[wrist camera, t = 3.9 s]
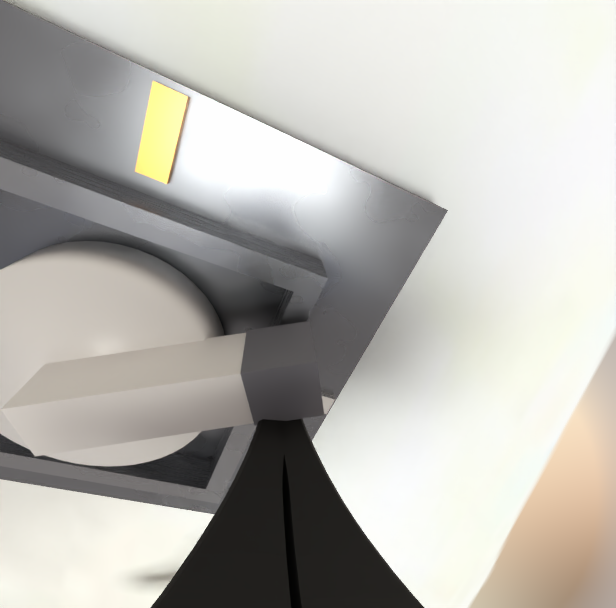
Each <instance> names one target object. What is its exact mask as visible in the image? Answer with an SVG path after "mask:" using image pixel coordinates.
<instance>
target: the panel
mask: <svg viewBox="0 0 616 608" xmlns="http://www.w3.org/2000/svg"><path fill="white" fill-rule="evenodd" d="M447 211H448V210H446V209H444V208H442V207H440V206H438V205H436V204H433V203H431V202H429V201H427V200H425V199H423V198H421V197H419V196H417V195H414V194H412V193H410V192H408V191H406V190H404V189H402V188H400V187H397V186H395V185H393V184H391V183H389V182H387V181H385V180H383V179H381V178H378V177H376V176H374V175H372V174H370V173H368V172H366V171H364V170H361V169H359V168H357V167H355V166H353V165H351V164H349V163H347V162H345V161H342V160H340V159H338V158H336V157H334V156H332V155H330V154H328V153H325V152H323V151H321V150H319V149H317V148H315V147H313V146H311V145H308V144H306V143H304V142H302V141H300V140H298V139H296V138H294V137H292V136H289V135H287V134H285V133H283V132H281V131H279V130H277V129H275V128H272V127H270V126H268V125H266V124H264V123H262V122H260V121H258V120H256V119H253V118H251V117H249V116H247V115H245V114H243V113H241V112H239V111H236V110H234V109H232V108H230V107H228V106H226V105H224V104H222V103H219V102H217V101H215V100H213V99H211V98H209V97H207V96H205V95H203V94H200V93H198V92H196V91H194V90H192V89H190V88H188V87H186V86H183V85H181V84H179V83H177V82H175V81H173V80H171V79H169V78H167V77H164V76H162V75H160V74H158V73H156V72H154V71H152V70H150V69H147V68H145V67H143V66H141V65H139V64H137V63H135V62H133V61H130V60H128V59H126V58H124V57H122V56H120V55H118V54H116V53H114V52H111V51H109V50H107V49H105V48H103V47H101V46H99V45H97V44H94V43H92V42H90V41H88V40H86V39H84V38H82V37H80V36H78V35H75V34H73V33H71V32H69V31H67V30H65V29H63V28H61V27H58V26H56V25H54V24H52V23H50V22H48V21H46V20H44V19H41V18H39V17H37V16H35V15H33V14H31V13H29V12H27V11H25V10H22V9H20V8H18V7H16V6H14V5H12V4H10V3H8V2H5V1H3V0H0V270H1V269H3V268H5V267H7V266H8V265H10V264H12V263H14V262H16V261H18V260H20V259H22V258H24V257H26V256H28V255H30V254H32V253H34V252H36V251H38V250H40V249H43V248H46V247H49V246H51V245H56V244H61V243H66V242H75V241H100V242H108V243H114V244H120V245H123V246H127V247H131V248H134V249H138V250H140V251H143V252H145V253H148V254H150V255H153V256H155V257H157V258H158V259H160V260H162V261H164V262H166V263H168V264H169V265H171V266H172V267H174V268H175V269H177V270H178V271H180V272H181V273H183V274H184V275H185V276H186V277H187V278H188V279H190V280H191V281H192V282H193V283H194V284H195V285H196V286H197V287H198V288H199V289H200V290H201V291H202V293H203V294H204V295H205V296H206V297H207V299H208V300H209V302H210V303H211V304H212V306H213V308H214V309H215V311H216V313H217V315H218V317H219V319H220V322H221V325H222V327H223V330H224V335H225V336H226V335H233V334H240V333H246V331H247V330H252V329H259V328H266V327H272V326H279V325H286V324H293V323H300V322H306V321H310V323H311V329H312V335H313V341H314V346H315V352H316V358H317V364H318V371H319V379H320V386H321V394H322V401H323V409H324V415H322V416H316V417H309V418H302V419H303V422H304V424H305V427H306V429H307V432H308V434H309V436H310V439H311V441H312V439H313V438H314V436H315V434H316V433H317V431H318V429H319V428H320V426H321V424H322V422H323V421H324V419H325V417H326V416H327V414H328V412H329V411H330V409H331V407H332V406H333V404H334V402H335V400H336V399H337V397H338V395H339V394H340V392H341V390H342V389H343V387H344V385H345V384H346V382H347V380H348V378H349V377H350V375H351V373H352V372H353V370H354V368H355V367H356V365H357V363H358V362H359V360H360V358H361V356H362V355H363V353H364V351H365V350H366V348H367V346H368V345H369V343H370V341H371V340H372V338H373V336H374V334H375V333H376V331H377V329H378V328H379V326H380V324H381V323H382V321H383V319H384V318H385V316H386V314H387V312H388V311H389V309H390V307H391V306H392V304H393V302H394V301H395V299H396V297H397V296H398V294H399V292H400V290H401V289H402V287H403V285H404V284H405V282H406V280H407V279H408V277H409V275H410V274H411V272H412V270H413V268H414V267H415V265H416V263H417V262H418V260H419V258H420V257H421V255H422V253H423V251H424V250H425V248H426V246H427V245H428V243H429V241H430V240H431V238H432V236H433V235H434V233H435V231H436V229H437V228H438V226H439V224H440V223H441V221H442V219H443V218H444V216H445V214H446V213H447ZM256 427H257V425H256V426H254V423H252V424H246V425H239V426H232V427H226V428H219V429H213V430H206V431H201V432H200V433H199V434H198V435H197V436H196V437H195V438H194V439H193V440H192V441H191V442H189V443H188V444H187V445H185V446H184V447H182V448H181V449H179V450H177V451H175V452H174V453H171V454H169V455H167V456H164V457H162V458H159V459H156V460H153V461H149V462H145V463H140V464H135V465H126V466H91V465H83V464H76V463H71V462H67V461H62V460H58V459H55V458H52V457H48V456H45V455H41V456H34V454H33V453H32V452H31V450H30V449H27V448H25V447H23V446H21V445H19V444H17V443H15V442H13V441H11V440H10V439H8V438H6V437H5V436H3V435H1V434H0V479H4V480H10V481H16V482H22V483H28V484H34V485H40V486H46V487H52V488H58V489H64V490H71V491H77V492H83V493H89V494H95V495H101V496H107V497H113V498H119V499H125V500H131V501H137V502H143V503H150V504H156V505H162V506H168V507H174V508H180V509H186V510H192V511H198V512H204V513H210V514H215V513H216V511H217V510H218V508H219V506H220V504H221V503H222V501H223V499H224V497H225V496H226V494H227V492H228V490H229V488H230V486H231V484H232V482H233V481H234V479H235V476H236V474H237V472H238V470H239V468H240V466H241V464H242V462H243V460H244V458H245V455H246V453H247V451H248V448H249V446H250V443H251V441H252V438H253V436H254V433H255V430H256Z"/></svg>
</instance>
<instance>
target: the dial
mask: <svg viewBox="0 0 616 608" xmlns="http://www.w3.org/2000/svg"><path fill="white" fill-rule="evenodd" d="M322 415H324V409H323V401H322V394H321V386H320V379H319V371H318V364H317V358H316V352H315V346H314V341H313V335H312V329H311V323H310V321H306V322H300V323H293V324H286V325H279V326H272V327H266V328H259V329H252V330H247V331H246V333H240V334H233V335H226V336H225V335H224V330H223V327H222V325H221V322H220V319H219V317H218V315H217V313H216V311H215V309H214V308H213V306H212V304H211V303H210V302H209V300H208V299H207V297H206V296H205V295H204V294H203V293H202V291H201V290H200V289H199V288H198V287H197V286H196V285H195V284H194V283H193V282H192V281H191V280H190V279H188V278H187V277H186V276H185V275H184V274H183V273H181V272H180V271H178V270H177V269H175V268H174V267H172V266H171V265H169V264H168V263H166V262H164V261H162V260H160V259H158V258H157V257H155V256H153V255H150V254H148V253H145V252H143V251H140V250H138V249H134V248H131V247H127V246H123V245H120V244H114V243H108V242H100V241H75V242H66V243H61V244H56V245H51V246H49V247H46V248H43V249H40V250H38V251H36V252H34V253H32V254H30V255H28V256H26V257H24V258H22V259H20V260H18V261H16V262H14V263H12V264H10V265H8V266H7V267H5V268H3V269H1V270H0V434H1V435H3V436H5V437H6V438H8V439H10V440H11V441H13V442H15V443H17V444H19V445H21V446H23V447H25V448H27V449H30V450H31V452H32V453H33V454H34V456H41V455H45V456H48V457H52V458H55V459H58V460H62V461H67V462H71V463H76V464H83V465H91V466H126V465H135V464H140V463H145V462H149V461H153V460H156V459H159V458H162V457H164V456H167V455H169V454H171V453H174V452H175V451H177V450H179V449H181V448H182V447H184V446H185V445H187V444H188V443H189V442H191V441H192V440H193V439H194V438H195V437H196V436H197V435H198V434H199V433H200V432H201V431H206V430H213V429H219V428H226V427H232V426H239V425H246V424H252V423H254V426H256V425H257V424H258V421H260V420H262V419H267V420H281V421H289V420H296V419H302V418H309V417H316V416H322Z"/></svg>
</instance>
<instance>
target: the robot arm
mask: <svg viewBox="0 0 616 608" xmlns="http://www.w3.org/2000/svg"><path fill="white" fill-rule="evenodd" d="M151 608H424V607H423V606H422V605H421V603H420V602H419V601H418V600H417V599H416V598H415V597H414V596H413V594H412V593H411V592H410V591H409V590H408V588H407V587H406V586H405V585H404V584H403V583H402V581H401V580H400V579H399V578H398V577H397V575H396V574H395V573H394V572H393V570H392V569H391V568H390V567H389V565H388V564H387V563H386V561H385V560H384V559H383V557H382V556H381V555H380V554H379V552H378V551H377V550H376V548H375V547H374V546H373V544H372V543H371V542H370V540H369V539H368V538H367V536H366V535H365V534H364V532H363V531H362V529H361V528H360V526H359V525H358V523H357V522H356V520H355V519H354V517H353V516H352V514H351V513H350V511H349V510H348V508H347V507H346V505H345V503H344V502H343V500H342V499H341V497H340V495H339V493H338V492H337V490H336V488H335V487H334V485H333V483H332V481H331V479H330V478H329V476H328V474H327V472H326V470H325V468H324V466H323V464H322V462H321V460H320V458H319V456H318V454H317V452H316V450H315V448H314V446H313V443H312V441H311V439H310V436H309V434H308V432H307V429H306V427H305V424H304V422H303V419H296V420H289V421H281V420H267V419H262V420H260V421H258V424H257V427H256V430H255V433H254V436H253V438H252V441H251V443H250V446H249V448H248V451H247V453H246V455H245V458H244V460H243V462H242V464H241V466H240V468H239V470H238V472H237V474H236V476H235V479H234V481H233V482H232V484H231V486H230V488H229V490H228V492H227V494H226V496H225V497H224V499H223V501H222V503H221V504H220V506H219V508H218V510H217V511H216V513H215V515H214V516H213V518H212V520H211V521H210V523H209V524H208V526H207V528H206V529H205V531H204V533H203V534H202V536H201V537H200V539H199V540H198V542H197V544H196V545H195V547H194V548H193V550H192V551H191V552H190V554H189V555H188V557H187V558H186V560H185V561H184V563H183V564H182V565H181V567H180V568H179V570H178V571H177V573H176V574H175V575H174V577H173V578H172V580H171V581H170V583H169V584H168V585H167V587H166V588H165V589H164V591H163V592H162V594H161V595H160V596H159V598H158V599H157V600H156V601H155V603H154V604H153V605H152V607H151Z"/></svg>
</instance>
